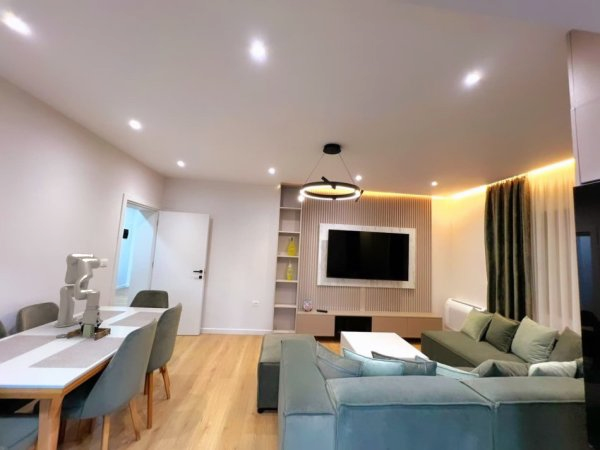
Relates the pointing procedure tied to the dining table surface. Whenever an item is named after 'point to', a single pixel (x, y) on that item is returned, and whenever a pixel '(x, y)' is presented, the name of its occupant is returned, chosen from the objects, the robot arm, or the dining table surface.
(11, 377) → the dining table surface
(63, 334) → the slate coaster
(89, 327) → the sage block
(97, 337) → the wooden u-shaped frame
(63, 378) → the dining table surface
